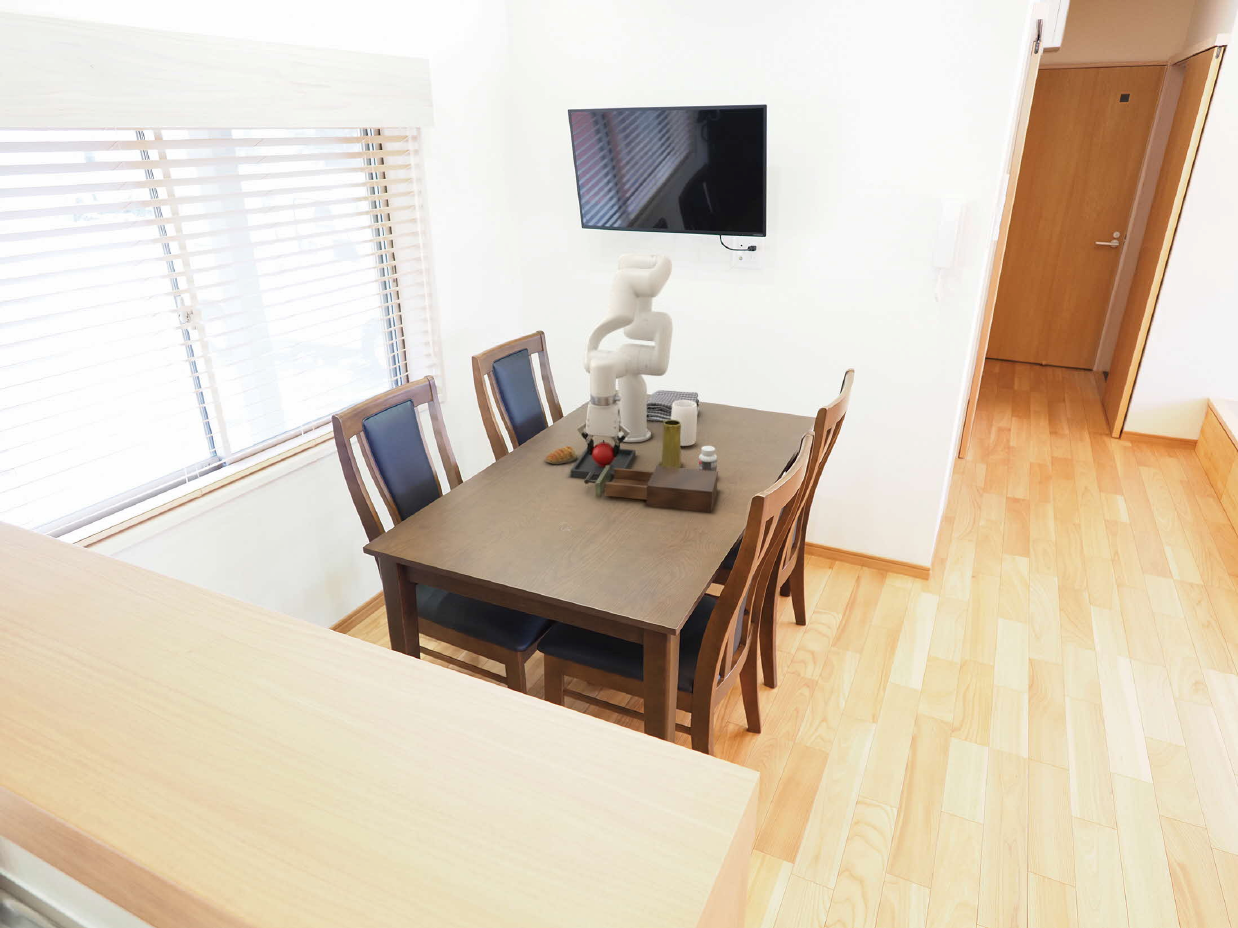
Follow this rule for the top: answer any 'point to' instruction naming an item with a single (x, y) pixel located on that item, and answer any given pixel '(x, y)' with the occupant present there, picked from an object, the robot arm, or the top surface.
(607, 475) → the drawer
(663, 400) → the towel
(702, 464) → the pill bottle
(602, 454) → the apple
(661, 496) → the cabinet
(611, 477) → the tray
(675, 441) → the vase
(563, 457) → the pastry
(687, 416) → the cup
